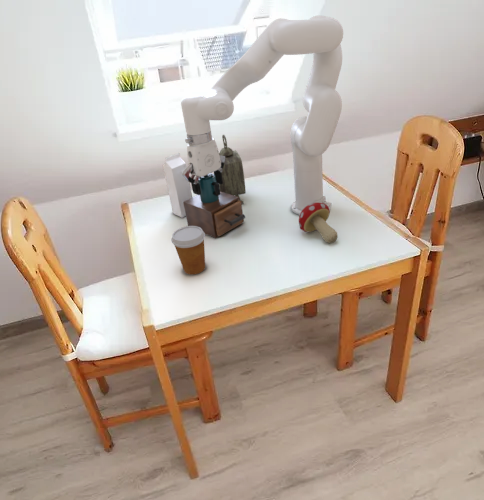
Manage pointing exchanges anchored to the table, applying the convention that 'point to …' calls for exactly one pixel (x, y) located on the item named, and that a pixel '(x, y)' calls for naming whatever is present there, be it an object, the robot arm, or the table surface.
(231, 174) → the green bell
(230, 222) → the drawer
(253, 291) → the table surface
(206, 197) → the kettle
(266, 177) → the table surface
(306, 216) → the decorative mushroom
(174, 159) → the milk
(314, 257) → the table surface
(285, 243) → the table surface
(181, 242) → the disposable coffee cup
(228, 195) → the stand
